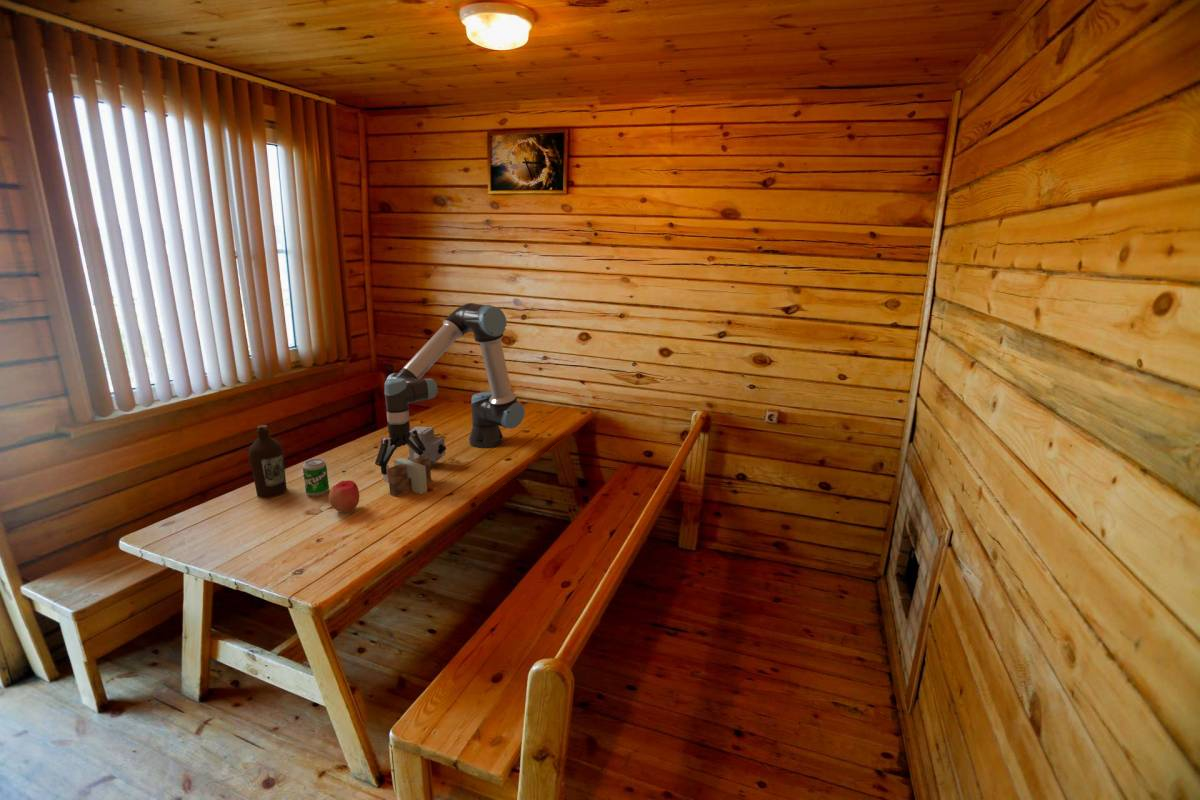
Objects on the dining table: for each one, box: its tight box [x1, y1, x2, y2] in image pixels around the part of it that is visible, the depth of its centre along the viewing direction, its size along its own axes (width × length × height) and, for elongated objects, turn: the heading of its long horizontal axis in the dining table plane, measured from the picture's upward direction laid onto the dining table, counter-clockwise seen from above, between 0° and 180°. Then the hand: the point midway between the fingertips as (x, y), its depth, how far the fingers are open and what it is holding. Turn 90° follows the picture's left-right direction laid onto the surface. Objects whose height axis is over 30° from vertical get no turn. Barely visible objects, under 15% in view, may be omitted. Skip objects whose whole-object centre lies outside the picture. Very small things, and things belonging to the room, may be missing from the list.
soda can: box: [302, 458, 330, 497], centre depth 206 cm, size 8×8×12 cm
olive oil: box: [248, 424, 288, 499], centre depth 204 cm, size 11×11×25 cm
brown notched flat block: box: [388, 456, 432, 497], centre depth 211 cm, size 16×3×10 cm, turn 145°
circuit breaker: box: [407, 426, 447, 467], centre depth 232 cm, size 8×14×15 cm, turn 78°
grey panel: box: [393, 457, 428, 495], centre depth 211 cm, size 14×3×10 cm, turn 55°
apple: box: [328, 480, 360, 513], centre depth 193 cm, size 10×10×10 cm
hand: (402, 475), depth 214 cm, fingers open, 13 cm apart
